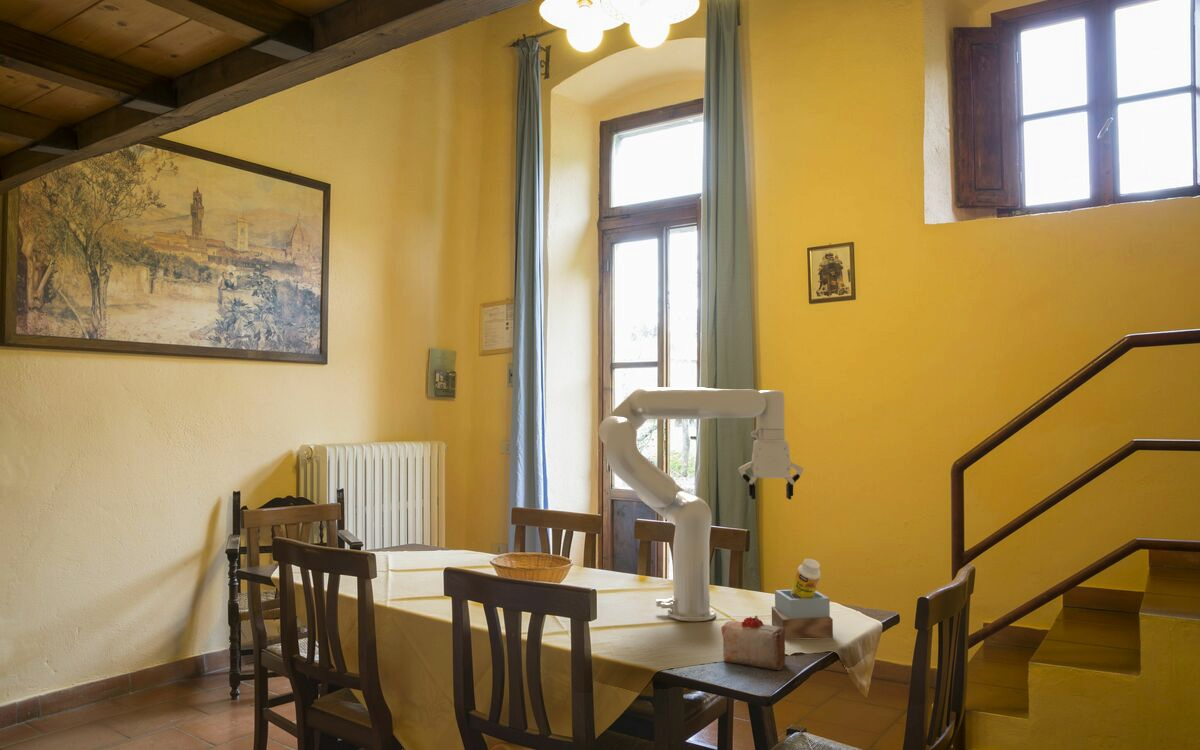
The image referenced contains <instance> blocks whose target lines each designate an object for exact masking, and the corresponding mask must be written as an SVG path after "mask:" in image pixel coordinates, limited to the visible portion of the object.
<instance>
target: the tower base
mask: <svg viewBox="0 0 1200 750" xmlns="http://www.w3.org/2000/svg"><path fill="white" fill-rule="evenodd" d="M833 623H834V622H833V618H832V617H831V616H830V617H818V618H799V619H790V618H788V617H787V616H786V615H784V614H783V613H781V612H780V611H778V610H777V609H776V608H775V606H771V626H777V627H782V628H784V629H785V638H829V639H833V638H834V624H833Z"/></svg>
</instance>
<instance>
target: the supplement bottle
mask: <svg viewBox="0 0 1200 750" xmlns="http://www.w3.org/2000/svg"><path fill="white" fill-rule="evenodd" d="M820 568H821V564H820V563H819V561H817V560H815V559H813V558H805V559H803V561H802V564H800V565H799V566H798V568H797V570H796V574H795V578H794V580H793V583H792V587H791V589H790V590H791V596H792V597H793V598H794V599H801V598H814V595H815V592H816V591H817V587H818V586H819V581H820V580H821V579H820V578H821V575H822V573H821V571H820Z"/></svg>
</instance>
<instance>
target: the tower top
mask: <svg viewBox="0 0 1200 750" xmlns="http://www.w3.org/2000/svg"><path fill="white" fill-rule="evenodd" d="M791 590H792V589H777V590H774V607H775V608H776V609H777V610H778V611H780V612H781V613H783V614H784V615H786V616H787V617H788V618H790V619H799V618H818V617H831V613H830V612H831V611H830V602H831V601H830V598H829V597H828V596H826V595H825V594H823V593H821V592H819V591H818V590H816V592H815V595H814V598H801V599H794V598H793V597H792V596H791Z"/></svg>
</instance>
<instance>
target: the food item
mask: <svg viewBox="0 0 1200 750" xmlns="http://www.w3.org/2000/svg"><path fill="white" fill-rule="evenodd" d="M721 635H722V643H723V644H722V645H723V647H722V649H723V651H722V653H723V656H722V657H723V662H725V663H728V664H729V663H730V664H737V665H744V666H749V667H750V666H751V667H757V668H760V669H761V668H762V669H767V670H773V671H780V670H782V669H783V667H784V666H785V665H786V639H785V629H784V628H782V627H777V626H772V625H770V624H764V623H763V621H762V620H761V619H759V618H758V615H757V614H756V615H755V616H754V617H752V616H750V617H746V618H744V619H743V621H735V620H734V621H733V620H729V621H728V620H727V621H726V622H725V623H724V624H723V625H722V626H721Z"/></svg>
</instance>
